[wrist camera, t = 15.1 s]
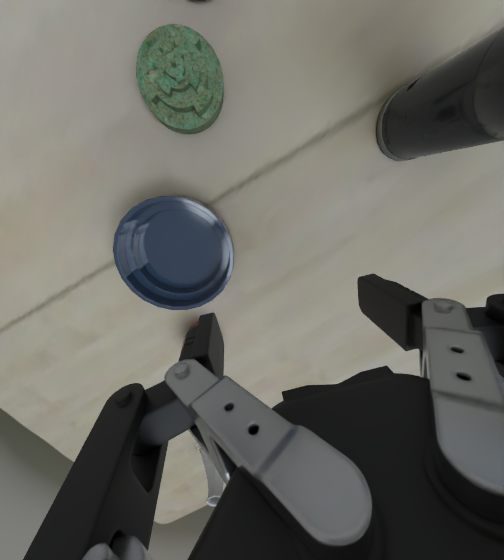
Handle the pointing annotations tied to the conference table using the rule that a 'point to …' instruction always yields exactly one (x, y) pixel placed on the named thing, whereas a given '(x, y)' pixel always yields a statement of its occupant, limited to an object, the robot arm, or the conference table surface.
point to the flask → (212, 481)
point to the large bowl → (174, 252)
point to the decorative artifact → (180, 78)
